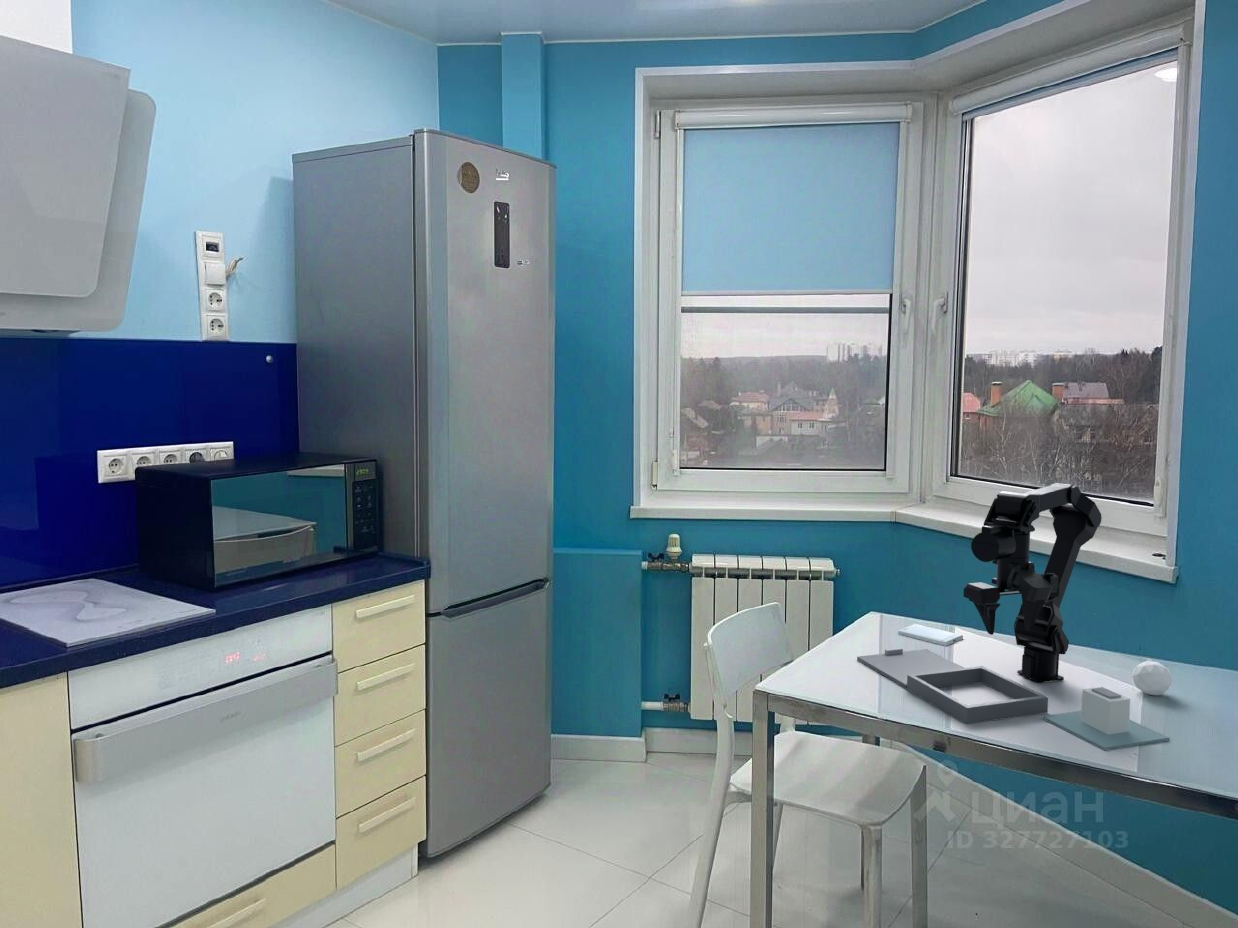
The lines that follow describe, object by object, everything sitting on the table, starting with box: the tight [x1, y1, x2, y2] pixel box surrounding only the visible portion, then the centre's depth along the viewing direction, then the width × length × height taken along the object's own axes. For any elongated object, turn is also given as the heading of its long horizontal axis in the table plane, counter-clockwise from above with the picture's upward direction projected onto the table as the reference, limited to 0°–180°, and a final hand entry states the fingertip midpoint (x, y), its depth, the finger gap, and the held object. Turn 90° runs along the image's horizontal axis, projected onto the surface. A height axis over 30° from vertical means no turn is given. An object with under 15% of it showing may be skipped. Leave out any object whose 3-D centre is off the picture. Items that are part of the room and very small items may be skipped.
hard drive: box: [897, 623, 964, 647], centre depth 207 cm, size 2×8×12 cm
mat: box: [1042, 710, 1170, 751], centre depth 152 cm, size 14×14×1 cm
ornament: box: [1132, 658, 1172, 696], centre depth 169 cm, size 6×7×7 cm
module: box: [1080, 686, 1131, 735], centre depth 152 cm, size 4×6×6 cm
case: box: [856, 647, 1049, 725], centre depth 175 cm, size 18×36×3 cm, turn 16°
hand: (1009, 631), depth 170 cm, fingers open, 9 cm apart
